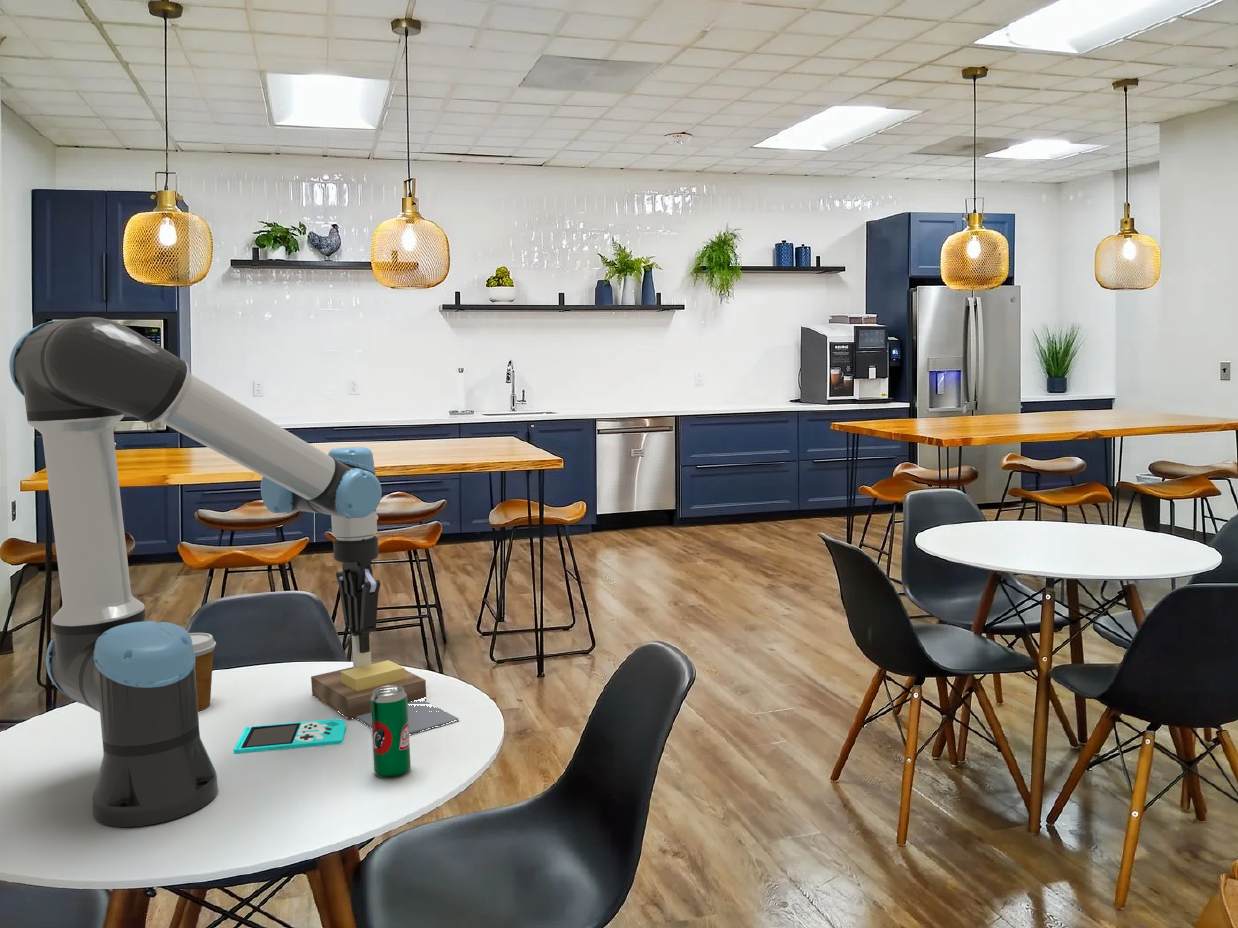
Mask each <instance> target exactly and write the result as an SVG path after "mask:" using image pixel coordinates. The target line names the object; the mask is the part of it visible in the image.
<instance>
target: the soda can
mask: <svg viewBox="0 0 1238 928" xmlns="http://www.w3.org/2000/svg"><path fill="white" fill-rule="evenodd" d="M370 704H371V722H372V729H371V738H372V753H373V755H372V756H373V770H374V773H375V774H376V775H377V776H378V777H379V778H384V779H393V778H398V777H401V776H403V775H405V774H407V773H408V771H409V770H410V769H411V765H412V764H411V748H410V735H409V724H408V704H407V695H406V693H405V692H404V688H403V687H401V686H396V685H389V686H383V687H379V688H377V689H375V690H374V691H373V695H372V697H371V699H370Z"/></svg>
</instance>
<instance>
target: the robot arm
mask: <svg viewBox="0 0 1238 928" xmlns="http://www.w3.org/2000/svg"><path fill="white" fill-rule="evenodd" d="M9 357H10V358H9V361H8V362H9V363H8V365H9V374H10V377H11V380H12V383H13V384H14V386H15V388H16V389H17V391H18V392H19V393H20V395H22V396H23V398H24V404H25V413H26V420H27V424H28V425H30V426H31V427H33V428H34V429H35V430H36V431H38V432H39V433H40V434H41V436H42V443H43V444H42V445H43V452H44V462H45V468H46V477H47V484H48V485H47V486H48V492H49V493H48V494H49V501H50V502H49V503H50V509H51V520H52V526H53V534H54V543H55V552H56V562H57V569H58V578H59V584H60V593H61V601H62V604H61V605H62V606H61V607H60V608H59V610H58V611H56V613H55V614H54V615H53V616H52V618H51V625H52V633H53V638H52V639H51V640H50V642H49V644H48V647H47V649H46V654H45V666H46V672H47V674H48V677H49V679H50V680H51V682H52V683H53V685H54V686H55V687H56V688H57V689H58V691H60V692H61V693H62V694H63V695H65V697H66V698H68V699H70V700H73V701H74V702H76V703H78V704H81V705H85V706H87V707H89V708H91V709H93V710H95V711H96V712H98V713H99V714H100V715H99V717H100V718H99V719H100V728H101V729H100V730H101V738H102V749H103V750H102V752H103V753H102V754H103V755H102V760H101V764H100V767H99V771H98V775H97V779H96V783H95V787H94V790H93V793H92V799H91V800H92V801H91V803H92V813H93V814H92V815H93V818H94V819H95V820H96V821H97V822H98V823H100V824H103V825H106V826H108V827H109V826H111V827H117V828H119V827H120V828H130V827H131V828H132V827H141V826H142V827H143V826H151V825H156V824H160V823H164V822H169V821H172V820H174V819H175V820H176V819H178V818H181V817H184V816H186V815H188V814H192V813H194V812H195V811H197V810H199V809H202V808H203V807H205V806H206V805H208V804H209V803H210V802H211V801H212V800H213V799H214V798H215V797H216V796H217V794H218V791H219V790H218V789H219V788H218V787H219V786H218V776H217V775H218V774H217V772H216V769H215V767H214V764H213V763H212V760H211V758H210V757H209V754H208V751H207V749H206V747H205V745H204V743H203V741H202V739H201V734H200V724H199V723H200V721H199V718H200V717H199V711H198V703H197V688H196V673H195V660H196V658H195V652H194V650H193V644H192V639H191V636H190V634H189V633H190V632H189V631H187V629H185V628H184V627H182V626H181V625H178V624H175V623H172V622H167V621H161V622H158V621H153V620H149V621H148V620H147V616H146V607H145V604H144V602H142V601H140V600H139V599H138V598H135V597H134V596H133V595H132V590H131V580H130V579H131V578H130V570H129V562H128V561H129V560H128V553H127V551H128V550H127V543H126V535H125V526H124V519H123V518H124V517H123V509H122V499H121V489H120V481H119V480H120V479H119V471H118V463H117V462H118V461H117V454H116V453H117V452H116V443H115V436H114V434H115V433H114V428H115V427H116V425H118V424H119V422H120V421H121V420H122V419H124V417H125V416H124V414H126V415H130V416H131V417H134V418H135V419H137V420H139V421H141V422H142V423H145V424H148V425H149V424H154V423H157V422H160V423H161V424H163V425H166V426H167V427H168V428H171V429H173V430H175V431H177V432H178V433H180V434H182V435H184V436H187V437H189V438H190V439H192V440H193V441H195V442H197V443H199V444H200V445H203V446H205V447H207V448H209V449H210V450H213V451H215V452H216V453H218V454H220V455H222V456H224V457H225V458H228V459H229V460H232V461H233V462H235V463H237V464H239V465H241V466H243V467H245V468H247V469H249V470H250V471H252V472H254V473H256V474H258V475H259V476H261V480H260V495H261V499H262V503H263V504H264V506H265V508H266V509H267V510H268V511H269V512H271V513H272V514H291V513H293V512H307V513H312V514H313V513H315V514H321V515H330V517H331V519H330V520H331V533H332V536H333V537H334V538H335V539H333V541H332V546H333V548H332V549H333V559H334V560H335V561H336V562H339V563H342V567H341V568H342V569H341V570H342V571H336V574H335V576H336V577H335V578H336V580H337V583H338V588H339V595H340V601H341V608H342V613H343V619H344V620H343V621H344V626H345V627H346V628H348V630H349V632H350V633H351V646H352V650H351V651H352V667H353V668H358V667H362V666H366V665H371V663H372V653H371V652H372V649H371V634H372V633H373V632H376V631H377V622H378V621H377V617H378V605H379V592H380V588H381V585H382V584H381V581H380V579H376V580H375V579H374V576H373V575H374V574H373V573H374V571H373V568H372V563H371V562H372V561H373V560H375V559H377V558H378V557H379V552H380V551H379V539H378V537H377V536H376V534H377V533H378V523H377V521H378V520H379V516H378V514H377V508H379V505H380V502H381V499H382V496H383V495H382V494H383V493H382V490H383V489H382V485H381V483H380V480H379V479H378V478H377V476H376V470H375V463H374V460H375V459H374V454H373V452H372V450H371V449H370V448H368V447H364V446H363V447H362V446H354V447H353V446H352V447H337V448H332V449H330V450H328V454H327V453H326V452H323V451H322V450H320V449H319V448H317V447H315V446H314V445H312V444H310V443H308V442H307V441H305V440H303V439H301V438H300V437H299V436H297V435H295V434H294V433H291V432H290V431H288V430H286V429H285V428H283V427H282V426H280V425H278V424H277V423H275V422H273V421H271V420H269V419H268V418H266V417H264V416H263V415H261V414H259V413H258V412H256V411H254V410H253V409H251V408H249V407H247V406H246V405H244V404H242V403H240V401H238V400H236V399H234V398H232V397H230V396H229V395H227V394H225V393H224V392H222V391H221V390H219V389H217V388H215V387H214V386H212V385H211V384H209V383H206V381H204V380H202V379H200V378H198V377H197V376H195V375H194V374H191V372H190V367H189V364H188V363H187V362H186V361H185V360H183V359H181V358H179V356H177V355H175V354H173V353H172V352H170V351H168V350H166V349H165V348H163V347H162V346H160V345H159V344H157V343H155V342H153V341H152V340H151V339H149V338H147V337H146V336H143V335H142V334H140V333H138V332H137V331H136V330H133V329H131V328H130V327H128V326H125V325H123V324H121V323H119V322H117V321H116V320H115V321H114V320H111V319H108V318H104V317H97V316H96V317H95V316H86V317H79V318H72V319H59V320H50V321H47V322H45V323H41V324H39V325H37V326H36V327H34V328H31V329H30V330H28V331H26V332H25V333H24V334H23V335H22V336H21V337H20V338H19V339H18V340H17V342H15V344H14V346H13V348H12V351H11V353H10V356H9Z"/></svg>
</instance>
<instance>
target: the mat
mask: <svg viewBox="0 0 1238 928" xmlns="http://www.w3.org/2000/svg"><path fill="white" fill-rule="evenodd" d="M425 701H426V700H425ZM425 701H423V702H422V701H421V702H420V701H417V702H416V701H415V702H414V701H412V702H408V703H407V704H431V703H430V702H428V701H427V702H425ZM436 707H437V708H436ZM436 707H435V708H434V707H433V706H432V707H431V708H430V707H429V706H428V707H427V706H426V705H425V706H420V705H419V706H417V705H416V706H415V707H414V705H412V706H411V705H410V706H409V705H408V724H409V734H412V735H415V734H414V733H416V734H418V732H419V733H421V732H420V731H422V730H426V729H428V728H432V727H435V726H440V727H442V726H441V725H443V724H446V723H449V722H451V721H454V720H458V719H459V720H460V718H459V717H457V716H455V715H453V714H451V713H449V712H447V711H445V710H443V709H441V708H439V707H438V706H436ZM416 711H417V712H416ZM429 711H430V712H429ZM431 711H432V712H431ZM436 711H437V712H436ZM438 711H439V712H438ZM444 711H445V712H444ZM356 718H357V719H359V720H361V721H362V722H363V723H362V722H361V723H362V724H364V723H365V724H366V725H365V724H364V725H365V726H367V725H368V726H370V727H371V728H372V722H371V712H370V713H367V714H363V715H359V716H356ZM356 718H355V719H356ZM357 719H356V720H357ZM359 720H358V721H359ZM368 726H367V727H368ZM370 727H369V728H370ZM371 728H370V729H371ZM426 731H427V730H426Z"/></svg>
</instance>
